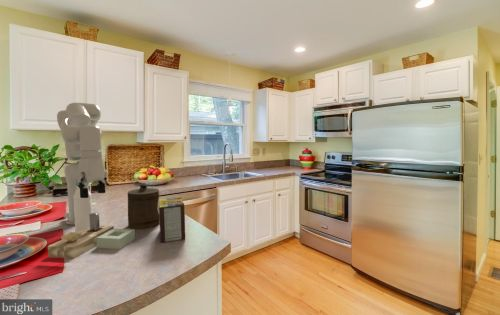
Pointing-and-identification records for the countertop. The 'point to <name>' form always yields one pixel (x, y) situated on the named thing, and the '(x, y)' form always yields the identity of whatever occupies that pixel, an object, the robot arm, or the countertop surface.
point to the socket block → (77, 243)
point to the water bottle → (82, 210)
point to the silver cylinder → (94, 222)
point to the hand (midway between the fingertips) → (93, 195)
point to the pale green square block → (115, 238)
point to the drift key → (71, 237)
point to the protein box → (171, 219)
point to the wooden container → (143, 208)
